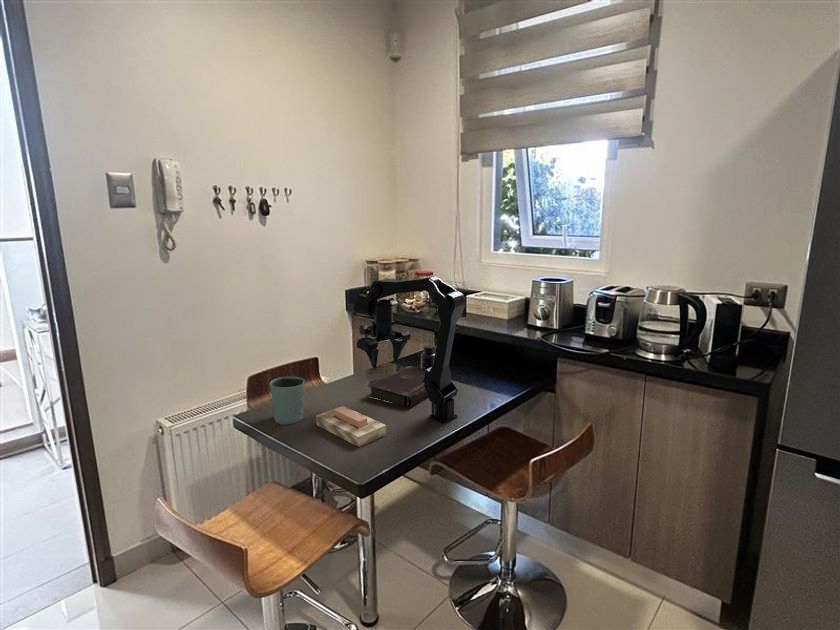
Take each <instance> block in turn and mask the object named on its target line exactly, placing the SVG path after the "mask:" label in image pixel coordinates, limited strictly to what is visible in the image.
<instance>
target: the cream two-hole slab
mask: <svg viewBox="0 0 840 630" xmlns="http://www.w3.org/2000/svg"><path fill="white" fill-rule="evenodd" d="M339 407H344V408H346V409H348V410H350V411H353V412H355V413H357V414H359V415H361V416H364V417H366V418H367V425H365V426H363V427H361V428H359V429H357V428H355V427H354V425H352V424H350V423H348V422H346V421H344V420H339V419H337V417H335V416H334V410H333V409H331V410H327V411H325V412H322V413H319V414H317V415H315V418H316V419H315V421H316V425H317V427H320V428H322V429H324V430H326V431H327V432H329V433H331V434H333V435H335V436H337V437H339V438H341V439H342V440H345V441H346V442H348V443H350V444H352V445H354V446H356V447H357V448H361V447H362V446H364V445H367V444H369V443H371V442H374V441H376V440H378V439H381V438H382V437H384V436H387V425H386V424H384V423H382V422H380V421H378V420H375V419H374V418H371V417H370V416H367V415H364V414H361V413H360V412H358V411H356V410H354V409H351V408H349V407H347V406H345V405H341V406H339ZM339 407H335V408H334V409H336V408H339Z"/></svg>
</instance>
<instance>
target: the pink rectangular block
mask: <svg viewBox="0 0 840 630" xmlns="http://www.w3.org/2000/svg"><path fill="white" fill-rule="evenodd" d="M335 408H336V409H335ZM335 408H333V409H332V410H334V416H335V417H337V419H339V420H344V421H346V422H348V423H350V424H352V425H354V427H355V428H357V429H359V428H361V427H363V426H365V425H367V418H366V417H364V416H361V415H359V414H357V413H355V412H353V411H350V410H348V409H346V408H344V407H341V406H339V408H338V407H335Z"/></svg>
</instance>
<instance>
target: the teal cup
mask: <svg viewBox="0 0 840 630" xmlns="http://www.w3.org/2000/svg"><path fill="white" fill-rule="evenodd" d="M305 382H306V381H305V379H304V378H302V377H299V376H281V377H277V378H274V379H272V380H271V381H270V382H269V387H270V393H271V401H272V402H271V403H272V407H273V416H274V417H273V418H274V422H275V423H277V424H278V425H279V424H280V425H292V424H293V425H294V424H296V423H298V422H300V421H302V420H303V418H304V399H305V398H304V396H305Z"/></svg>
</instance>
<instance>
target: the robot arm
mask: <svg viewBox="0 0 840 630" xmlns="http://www.w3.org/2000/svg"><path fill="white" fill-rule="evenodd" d="M424 291H425V292H426V293H428V295H429V297H430V299H431V301H432V302H433V303H434V304H435V305H436V306H437V315H438V318H439V327H438V333H437V334H438V335H437V340H436V345H435V346H436V350H435V356H434V362H433V366H432V367H430V368H428V369H426V370H425V377H424V380H423V382H424V388H425V389H426V391H427V394H428V397H427V398H428V401H429V402H431V414H428V417H429V418H430V419H432V420H435V421H438V422H440V423H443V424H445V423H448V422H450V421H452V420H453V419H456V418H457V417H458V414H456V413H455V399H453V398H454V397H456V396H457V395H458V392H459V389H458V388H457V386H456V385H455V384H454V382H453V381H452V372H451V369H450V360H451V356H452V350H453V344H454V338H455V333H456V329H457V323H458V322H459V320H460V319H461V316H462V315H463V313H464V311H465V307H466V303H467V300H466V299H467V298H466V297H465V295H464V294H463V293H462V292H461V291H459V290H457V289H456V288H454V286H452V285H450V284H448V283H446V282H445V281H443V280H442V279H441V278H440V277H438V276H436V275H434V276H429V277H421V278H413V279H412V278H411V279H404V280H402V279H401V280H399V279H396V278H384V279H379V280H378V279H377V280H374V281H373V282H372V283H371V285H370V289H369V291H368V292H367V294H364V293H363V294H362V293H361V294H357V298H356V299H355V302H354V305H353V311H354V313H355V314H356V315H358V316H365V317H374V320H372V322H371V325H369V326H368V325H367V324H361V325H359V330H358V331H359V334H360V335H361V336H364V337H361V338H358V339H357V340H356V348H357V349H360V350H361V351H364V353H366V355H367V357H368V360H369V362H370V364H371V367H372V368H373V369H376V368H377V363H378V357H379V349H378V347H379V346H378V345H379V344H382V343H387V342H390V343H391V344H392V358H393V362H398V360H399V359H400V356H401V354H402V351H403V349H404V348H405V346H406V344H407V343H408V341H410V340H411V332H410V331H409V330H406V329H401V328H397V329H394V325H396V321H394V319H393V318H394V315H393V314H394V313H393V312H394V311H393V310H394V309H393V308H394V306H395V307H396V306H398V305H399V302H398V301H397V300H396V299H395V298H394V297H391V296H394V295H398V294H403V293H414V292H424ZM387 297H388V299H386V298H387ZM389 297H390V298H389ZM369 336H370V337H369Z"/></svg>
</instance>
